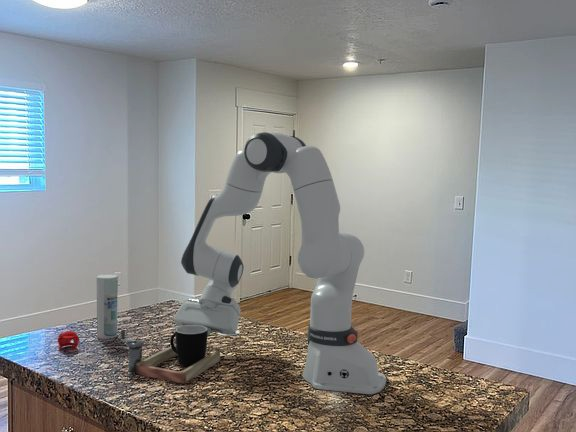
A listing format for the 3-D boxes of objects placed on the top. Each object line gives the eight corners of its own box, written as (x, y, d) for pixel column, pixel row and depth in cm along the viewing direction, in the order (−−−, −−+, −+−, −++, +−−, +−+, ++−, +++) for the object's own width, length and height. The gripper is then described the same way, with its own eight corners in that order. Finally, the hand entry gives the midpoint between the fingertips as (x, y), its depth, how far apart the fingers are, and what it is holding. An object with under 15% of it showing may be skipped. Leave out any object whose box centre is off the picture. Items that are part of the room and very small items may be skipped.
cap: (55, 347, 167) (55, 329, 166) (74, 344, 170) (74, 326, 169) (61, 353, 161) (61, 335, 160) (81, 350, 164) (81, 332, 164)
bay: (220, 360, 158) (220, 350, 158) (183, 383, 141) (184, 372, 140) (176, 353, 164) (176, 343, 163) (136, 374, 146) (136, 363, 146)
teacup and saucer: (230, 328, 193) (230, 317, 193) (246, 333, 188) (246, 321, 187) (211, 333, 186) (211, 321, 186) (227, 338, 181) (227, 326, 181)
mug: (213, 362, 157) (213, 327, 156) (193, 371, 149) (194, 335, 148) (180, 354, 163) (181, 321, 162) (160, 363, 155) (160, 328, 154)
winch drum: (147, 368, 151) (147, 331, 150) (136, 373, 146) (137, 335, 145) (126, 364, 153) (127, 327, 152) (115, 369, 149) (116, 331, 148)
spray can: (107, 332, 183) (107, 273, 181) (121, 335, 180) (121, 275, 178) (92, 337, 177) (92, 276, 175) (107, 340, 174) (107, 278, 172)
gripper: (181, 292, 170) (162, 331, 161) (239, 300, 162) (222, 341, 154) (188, 303, 174) (170, 342, 166) (245, 311, 166) (230, 352, 158)
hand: (196, 341), depth 160 cm, fingers closed
